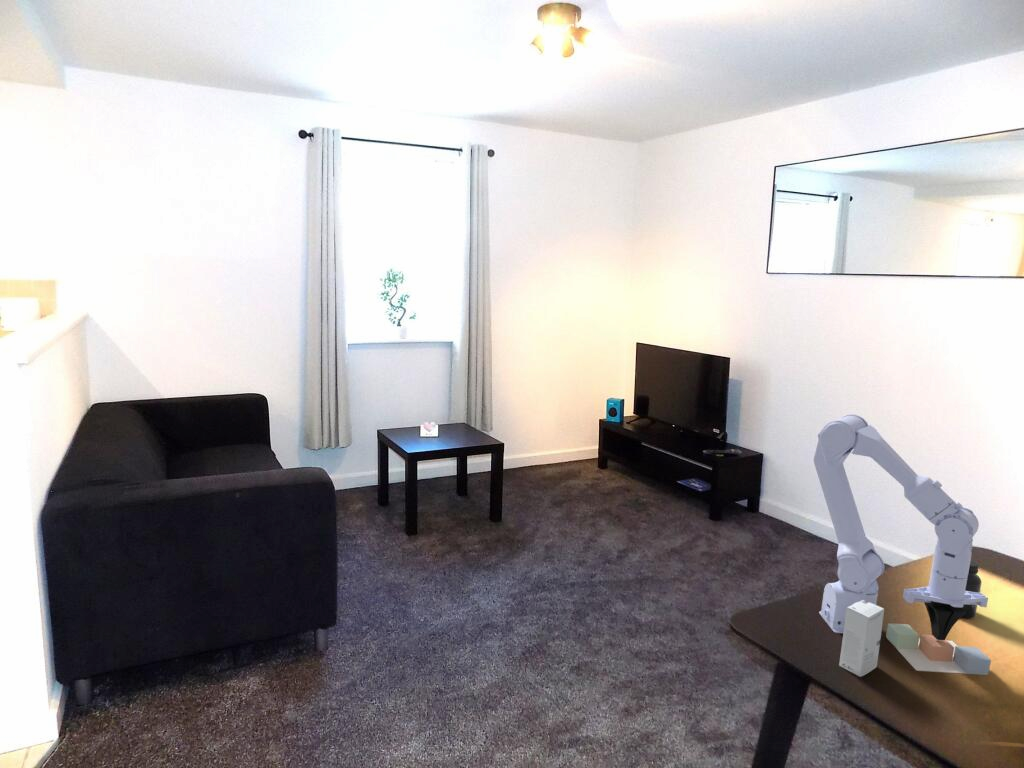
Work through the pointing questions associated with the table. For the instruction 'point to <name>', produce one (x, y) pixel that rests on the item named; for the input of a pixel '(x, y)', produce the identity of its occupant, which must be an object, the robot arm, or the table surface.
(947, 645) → the terracotta block
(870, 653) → the skincare box
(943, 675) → the table surface
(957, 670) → the felt mat
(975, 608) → the supplement bottle
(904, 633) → the sage block
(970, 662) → the slate block
